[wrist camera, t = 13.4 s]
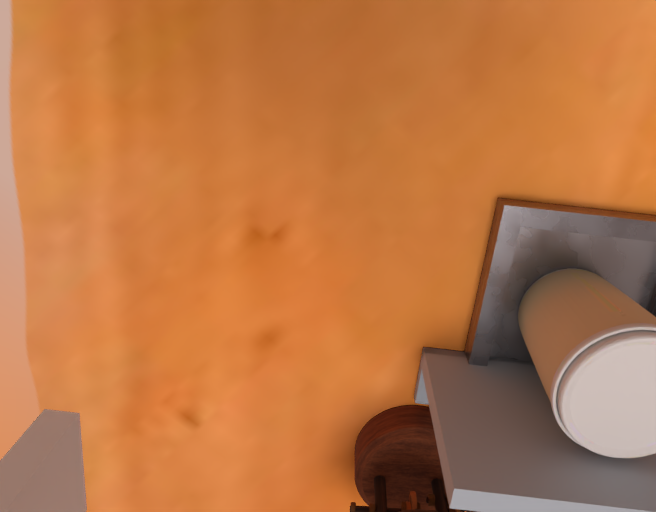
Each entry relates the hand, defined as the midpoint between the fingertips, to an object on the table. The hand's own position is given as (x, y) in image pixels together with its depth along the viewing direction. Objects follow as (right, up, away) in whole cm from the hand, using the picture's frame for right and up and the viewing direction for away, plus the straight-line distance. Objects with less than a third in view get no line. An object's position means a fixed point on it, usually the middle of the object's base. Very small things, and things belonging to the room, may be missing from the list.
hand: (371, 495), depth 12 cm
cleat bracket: (+19, +2, +32) cm, 37 cm away
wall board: (+18, -6, +35) cm, 40 cm away
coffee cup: (+18, +1, +32) cm, 37 cm away
